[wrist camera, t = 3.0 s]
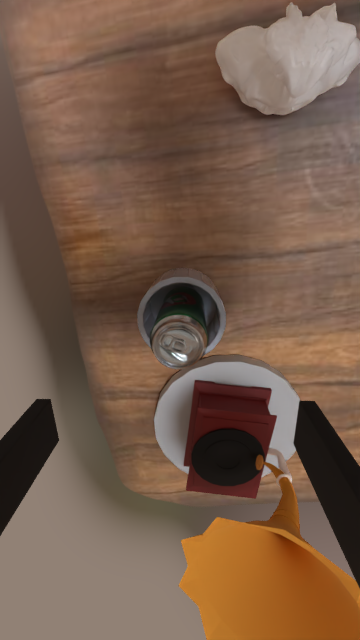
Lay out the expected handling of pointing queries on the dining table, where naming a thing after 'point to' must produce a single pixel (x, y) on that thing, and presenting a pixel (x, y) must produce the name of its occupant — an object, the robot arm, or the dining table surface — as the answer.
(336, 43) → the white rock
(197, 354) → the green can
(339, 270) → the dining table surface
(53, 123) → the dining table surface
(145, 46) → the dining table surface
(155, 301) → the grey cylinder
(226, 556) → the gramophone
